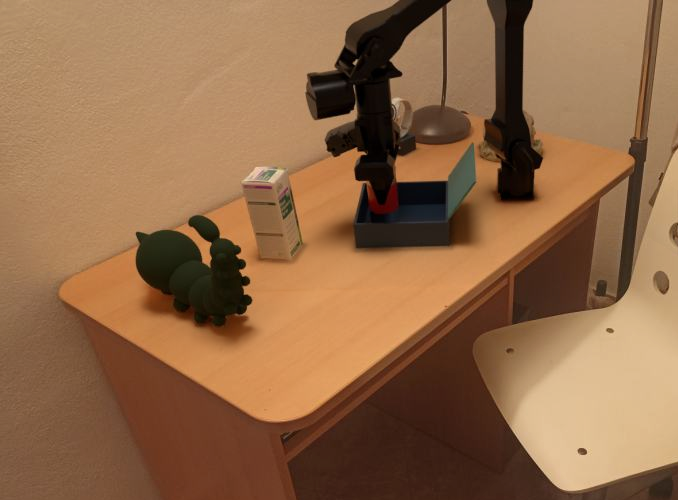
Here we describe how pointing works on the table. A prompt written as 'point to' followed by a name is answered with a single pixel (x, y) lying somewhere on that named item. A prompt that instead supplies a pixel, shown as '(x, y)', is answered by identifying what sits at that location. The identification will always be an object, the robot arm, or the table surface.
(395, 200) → the can
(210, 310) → the toy figurine
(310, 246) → the table surface
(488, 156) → the ceramic model
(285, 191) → the syrup box
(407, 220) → the dark blue open box
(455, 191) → the lid
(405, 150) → the watch
